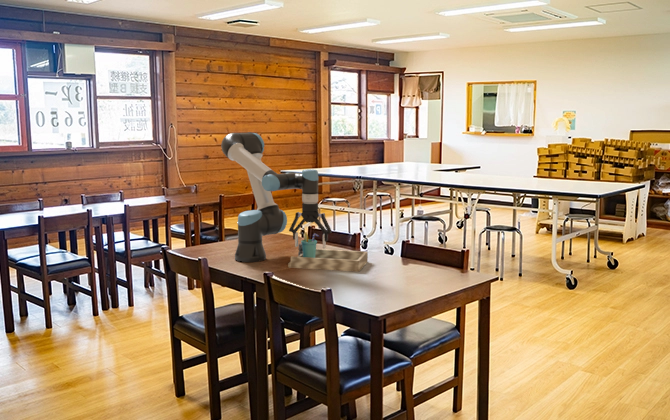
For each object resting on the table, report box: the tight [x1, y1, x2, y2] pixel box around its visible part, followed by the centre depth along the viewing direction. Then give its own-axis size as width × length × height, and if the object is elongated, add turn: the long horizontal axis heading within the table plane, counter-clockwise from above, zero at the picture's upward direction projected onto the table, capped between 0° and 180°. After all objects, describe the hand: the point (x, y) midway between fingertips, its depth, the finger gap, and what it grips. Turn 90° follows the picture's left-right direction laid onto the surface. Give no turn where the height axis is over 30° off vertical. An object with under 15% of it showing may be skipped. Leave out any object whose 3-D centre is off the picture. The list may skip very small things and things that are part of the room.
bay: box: [287, 248, 369, 273], centre depth 295 cm, size 33×20×5 cm, turn 76°
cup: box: [300, 232, 320, 258], centre depth 296 cm, size 14×8×15 cm, turn 37°
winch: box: [297, 242, 303, 257], centre depth 314 cm, size 7×5×8 cm
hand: (310, 247), depth 296 cm, fingers open, 13 cm apart
